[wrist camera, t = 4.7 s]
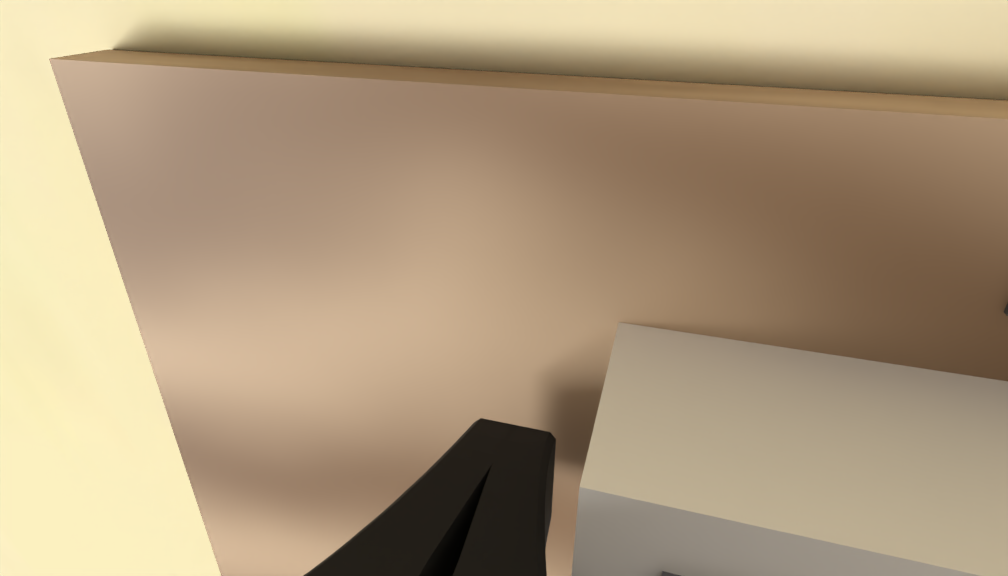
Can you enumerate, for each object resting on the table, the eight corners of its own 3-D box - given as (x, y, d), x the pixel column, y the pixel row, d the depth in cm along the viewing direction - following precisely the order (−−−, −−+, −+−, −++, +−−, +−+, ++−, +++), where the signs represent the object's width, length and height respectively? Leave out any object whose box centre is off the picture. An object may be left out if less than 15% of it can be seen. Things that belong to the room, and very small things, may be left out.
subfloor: (1074, 891, 15) (1104, 967, 13) (276, 635, 20) (251, 674, 19) (1919, 151, 6) (2196, 197, 5) (108, 49, 11) (44, 60, 10)
